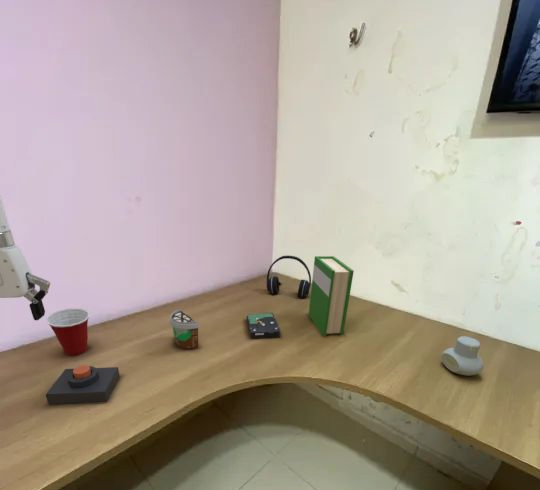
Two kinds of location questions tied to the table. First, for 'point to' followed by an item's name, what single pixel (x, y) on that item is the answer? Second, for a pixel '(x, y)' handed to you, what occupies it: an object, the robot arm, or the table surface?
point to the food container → (184, 330)
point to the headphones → (274, 281)
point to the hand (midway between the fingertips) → (15, 318)
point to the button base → (83, 387)
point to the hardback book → (330, 294)
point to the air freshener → (463, 357)
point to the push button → (82, 372)
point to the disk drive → (263, 325)
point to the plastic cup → (70, 329)
